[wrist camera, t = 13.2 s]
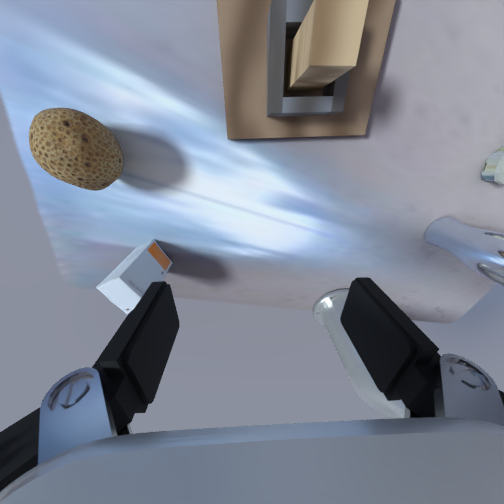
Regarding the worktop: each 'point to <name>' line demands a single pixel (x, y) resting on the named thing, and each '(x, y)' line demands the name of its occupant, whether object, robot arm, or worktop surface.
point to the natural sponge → (75, 148)
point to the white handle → (495, 168)
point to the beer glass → (470, 246)
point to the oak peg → (325, 44)
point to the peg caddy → (275, 69)
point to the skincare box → (135, 275)
